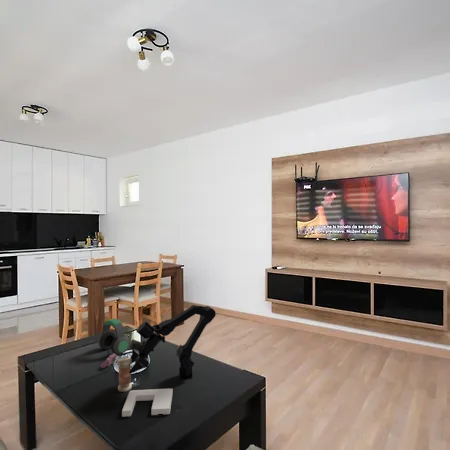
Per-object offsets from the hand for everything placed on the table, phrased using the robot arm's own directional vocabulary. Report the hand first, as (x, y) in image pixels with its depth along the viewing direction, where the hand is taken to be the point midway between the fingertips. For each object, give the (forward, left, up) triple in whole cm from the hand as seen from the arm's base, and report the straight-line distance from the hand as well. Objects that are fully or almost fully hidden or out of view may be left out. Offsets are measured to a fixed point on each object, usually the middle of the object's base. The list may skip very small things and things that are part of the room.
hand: (128, 369), depth 159 cm
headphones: (+19, -44, -9) cm, 49 cm away
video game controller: (+16, -26, -9) cm, 32 cm away
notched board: (-12, +16, -9) cm, 22 cm away
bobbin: (+2, +1, -9) cm, 9 cm away
